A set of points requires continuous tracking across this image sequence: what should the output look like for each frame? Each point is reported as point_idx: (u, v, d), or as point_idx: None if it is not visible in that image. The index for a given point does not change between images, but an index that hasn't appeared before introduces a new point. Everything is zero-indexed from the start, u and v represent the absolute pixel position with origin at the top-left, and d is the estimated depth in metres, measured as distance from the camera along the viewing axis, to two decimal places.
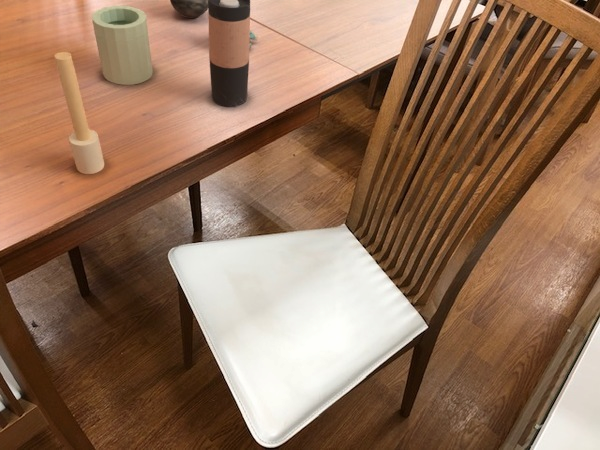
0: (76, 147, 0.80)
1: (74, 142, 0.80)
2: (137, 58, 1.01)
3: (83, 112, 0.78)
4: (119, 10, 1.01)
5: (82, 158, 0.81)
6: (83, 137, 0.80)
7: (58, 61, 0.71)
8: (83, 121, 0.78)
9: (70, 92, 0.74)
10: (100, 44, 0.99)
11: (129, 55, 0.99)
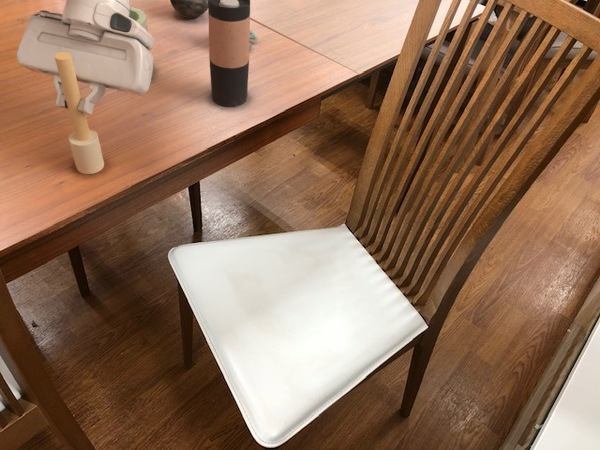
0: (75, 147, 0.80)
1: (74, 142, 0.80)
2: None
3: None
4: None
5: (82, 158, 0.81)
6: (83, 137, 0.80)
7: (58, 61, 0.71)
8: (83, 121, 0.78)
9: (70, 92, 0.74)
10: None
11: None
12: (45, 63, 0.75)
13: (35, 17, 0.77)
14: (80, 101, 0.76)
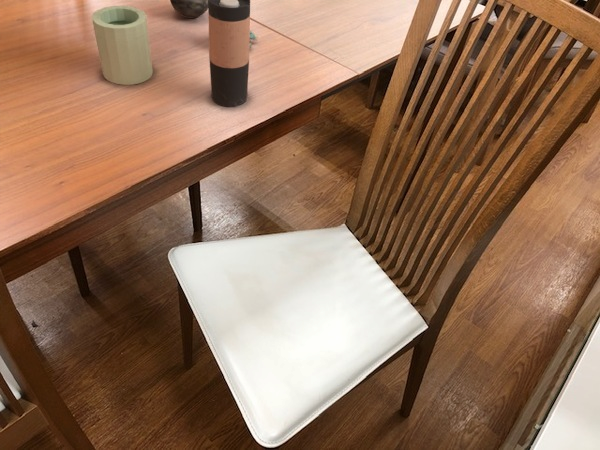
0: None
1: None
2: (137, 58, 1.01)
3: None
4: (119, 10, 1.01)
5: None
6: None
7: None
8: None
9: None
10: (100, 44, 0.99)
11: (129, 55, 0.99)
12: None
13: None
14: None
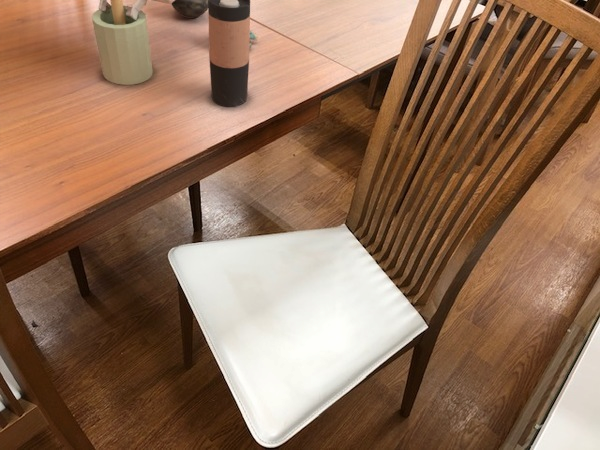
0: None
1: None
2: (137, 58, 1.01)
3: (124, 19, 0.99)
4: None
5: None
6: None
7: None
8: None
9: (115, 0, 0.95)
10: (100, 44, 0.99)
11: (129, 55, 0.99)
12: None
13: None
14: (128, 8, 0.96)
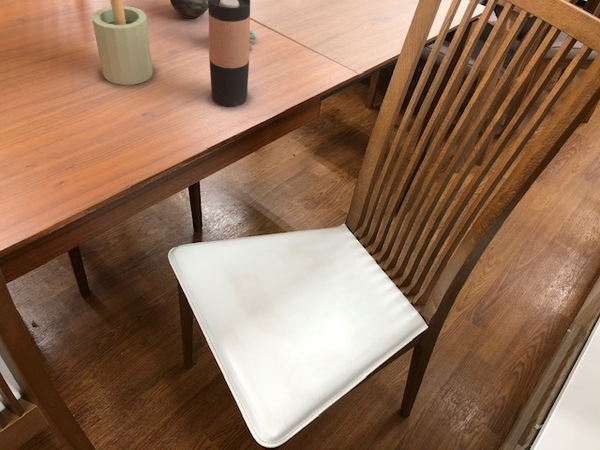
0: None
1: None
2: (137, 58, 1.01)
3: (124, 19, 0.99)
4: None
5: None
6: None
7: None
8: None
9: (115, 0, 0.95)
10: (100, 44, 0.99)
11: (129, 55, 0.99)
12: None
13: None
14: None
